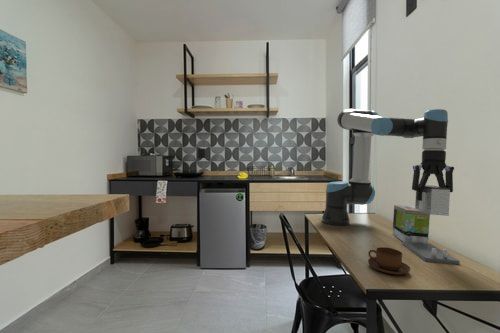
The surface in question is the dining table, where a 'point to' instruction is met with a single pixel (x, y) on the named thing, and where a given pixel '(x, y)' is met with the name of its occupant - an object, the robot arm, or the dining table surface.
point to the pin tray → (430, 252)
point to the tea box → (410, 223)
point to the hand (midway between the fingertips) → (430, 209)
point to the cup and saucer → (388, 261)
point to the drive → (435, 200)
